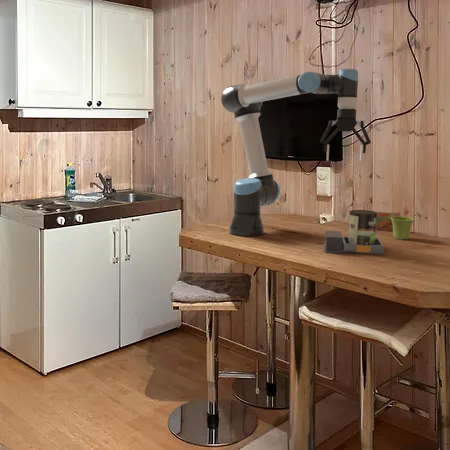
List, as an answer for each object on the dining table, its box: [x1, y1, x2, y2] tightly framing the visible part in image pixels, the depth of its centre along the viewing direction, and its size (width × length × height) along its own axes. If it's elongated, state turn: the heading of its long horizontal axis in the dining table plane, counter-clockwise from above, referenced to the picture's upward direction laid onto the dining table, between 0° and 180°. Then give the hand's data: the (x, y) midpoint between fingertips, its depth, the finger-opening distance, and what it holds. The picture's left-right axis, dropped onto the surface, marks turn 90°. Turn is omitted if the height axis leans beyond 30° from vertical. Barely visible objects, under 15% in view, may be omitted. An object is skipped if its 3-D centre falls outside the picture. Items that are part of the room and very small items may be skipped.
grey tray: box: [323, 230, 385, 256], centre depth 225 cm, size 21×15×6 cm
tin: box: [376, 211, 402, 232], centre depth 268 cm, size 15×3×8 cm, turn 69°
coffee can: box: [348, 209, 378, 245], centre depth 224 cm, size 10×10×14 cm
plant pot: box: [391, 216, 415, 241], centre depth 249 cm, size 9×9×9 cm
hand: (344, 161), depth 241 cm, fingers open, 13 cm apart
